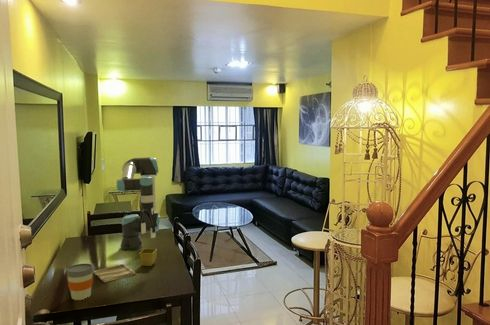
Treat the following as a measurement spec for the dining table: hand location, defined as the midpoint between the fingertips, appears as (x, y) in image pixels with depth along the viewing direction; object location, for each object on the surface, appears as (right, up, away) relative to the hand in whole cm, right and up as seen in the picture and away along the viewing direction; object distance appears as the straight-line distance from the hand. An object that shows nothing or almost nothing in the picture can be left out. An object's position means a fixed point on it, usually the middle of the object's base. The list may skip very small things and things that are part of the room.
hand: (148, 235), depth 238 cm
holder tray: (-17, -20, -13) cm, 29 cm away
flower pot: (0, -19, +1) cm, 19 cm away
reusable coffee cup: (-23, -23, -43) cm, 54 cm away
